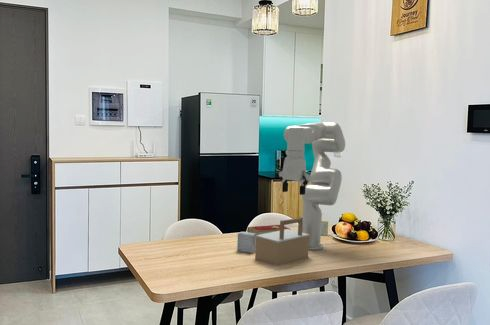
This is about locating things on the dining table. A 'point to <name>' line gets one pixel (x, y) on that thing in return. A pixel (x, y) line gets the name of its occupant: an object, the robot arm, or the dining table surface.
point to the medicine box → (246, 242)
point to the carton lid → (285, 232)
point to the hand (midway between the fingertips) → (293, 193)
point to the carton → (281, 250)
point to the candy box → (324, 228)
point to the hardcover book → (264, 229)
